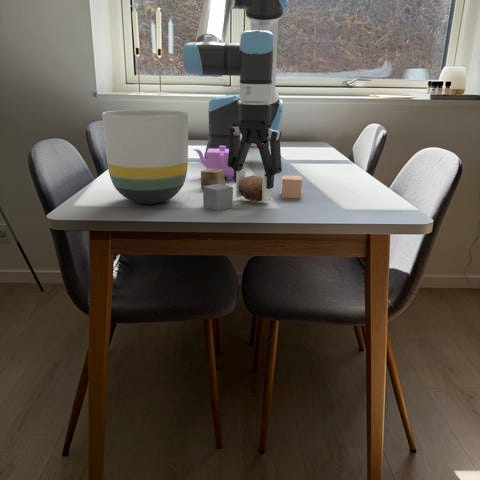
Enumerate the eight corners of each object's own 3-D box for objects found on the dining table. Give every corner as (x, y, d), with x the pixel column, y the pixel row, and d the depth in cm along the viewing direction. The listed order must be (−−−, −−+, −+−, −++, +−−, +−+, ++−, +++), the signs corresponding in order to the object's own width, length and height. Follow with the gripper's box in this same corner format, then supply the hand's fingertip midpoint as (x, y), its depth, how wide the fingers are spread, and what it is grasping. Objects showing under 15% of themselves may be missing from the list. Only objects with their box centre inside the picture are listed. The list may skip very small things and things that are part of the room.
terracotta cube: (281, 197, 120) (282, 179, 119) (282, 193, 125) (282, 175, 123) (300, 198, 120) (302, 179, 118) (300, 194, 124) (301, 175, 123)
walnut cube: (201, 188, 129) (200, 171, 127) (208, 185, 133) (208, 168, 131) (217, 190, 127) (217, 172, 125) (224, 187, 131) (224, 169, 130)
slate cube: (203, 206, 111) (203, 186, 109) (219, 203, 114) (219, 183, 113) (216, 211, 108) (216, 190, 106) (232, 207, 111) (232, 187, 109)
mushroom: (235, 182, 119) (245, 165, 115) (263, 193, 121) (274, 177, 116) (231, 203, 114) (241, 186, 109) (260, 214, 116) (271, 198, 111)
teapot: (250, 173, 150) (251, 143, 147) (251, 182, 138) (252, 149, 134) (195, 172, 150) (195, 142, 147) (191, 181, 138) (190, 148, 134)
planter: (196, 209, 108) (194, 115, 101) (110, 215, 103) (102, 116, 96) (182, 190, 126) (180, 109, 119) (108, 194, 121) (101, 110, 113)
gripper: (211, 101, 110) (212, 194, 118) (283, 106, 99) (279, 208, 107) (231, 100, 116) (230, 189, 124) (301, 104, 105) (295, 202, 113)
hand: (253, 198), depth 115 cm, fingers closed on mushroom, 7 cm apart
